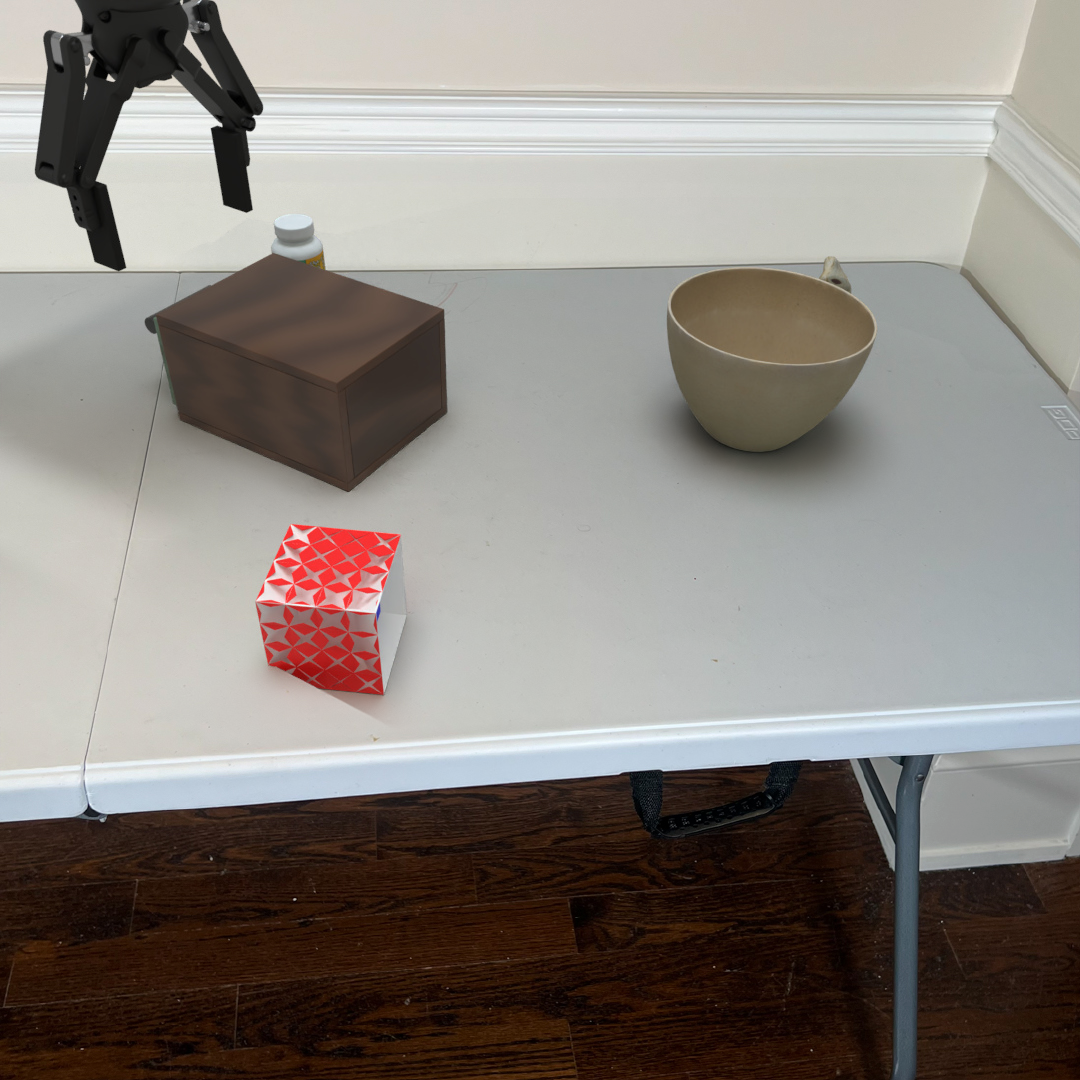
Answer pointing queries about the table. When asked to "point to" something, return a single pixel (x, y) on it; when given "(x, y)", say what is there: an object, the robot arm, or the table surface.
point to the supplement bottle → (298, 240)
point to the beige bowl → (765, 352)
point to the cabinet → (307, 367)
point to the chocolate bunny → (835, 274)
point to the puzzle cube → (334, 607)
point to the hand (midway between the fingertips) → (177, 235)
